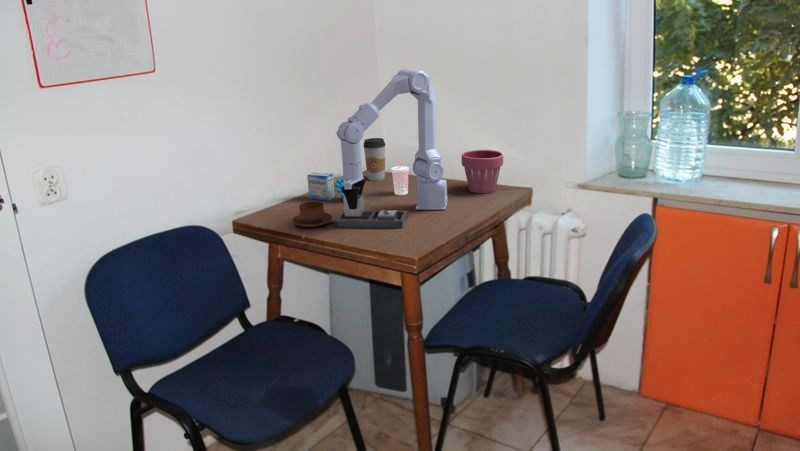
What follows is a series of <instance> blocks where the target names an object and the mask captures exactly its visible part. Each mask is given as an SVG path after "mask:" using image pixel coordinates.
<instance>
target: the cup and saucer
mask: <svg viewBox="0 0 800 451" xmlns="http://www.w3.org/2000/svg"><path fill="white" fill-rule="evenodd" d="M298 207H299V215H298V214H297V215H296V216H294V217H293V219H292V222H293V223H294V224H295V225H297V226H298V227H303V228H316V227H321V226H324V225H326V224H328V223H330V222H331V221H332V219H333V216H332V214H331V213H327V212H325V209H324V208H325V207H324V203H323V202H322V201H315V200H314V201H306V202H303V203H300V204H299V205H298Z"/></svg>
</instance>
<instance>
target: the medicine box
mask: <svg viewBox="0 0 800 451" xmlns="http://www.w3.org/2000/svg"><path fill="white" fill-rule="evenodd" d="M334 186H335V185H334V173H327V172H326V173H325V172H311V173H308V174H307V187H308V199H310V200H316V201H320V200H321V201H330V200H333V199H334V198H335V187H334Z"/></svg>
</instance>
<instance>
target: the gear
mask: <svg viewBox="0 0 800 451" xmlns="http://www.w3.org/2000/svg"><path fill="white" fill-rule="evenodd" d="M335 182H336V183H335V185H334V186H335V187H334V188H337V189H336V192H337V194H338V193H339V194H340V193H341V195H340V197H339V198H340V199H341V200H343V199H344V197H345V195H344V193H343V192H342V190H341V187H342V186H344V181H343V180H340V178H338V179H336V181H335Z"/></svg>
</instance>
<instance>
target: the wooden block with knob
mask: <svg viewBox="0 0 800 451" xmlns="http://www.w3.org/2000/svg"><path fill="white" fill-rule="evenodd" d="M379 211H380V212H379V214H378V218H377V221H398V218H397V211H398V210H391V209H389V210H388V209H386V210H382V209H381V210H379Z"/></svg>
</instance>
